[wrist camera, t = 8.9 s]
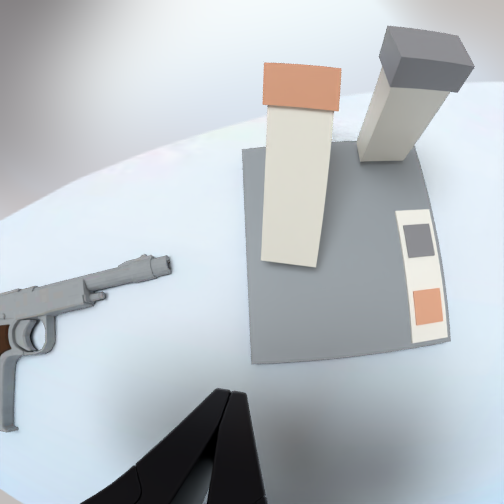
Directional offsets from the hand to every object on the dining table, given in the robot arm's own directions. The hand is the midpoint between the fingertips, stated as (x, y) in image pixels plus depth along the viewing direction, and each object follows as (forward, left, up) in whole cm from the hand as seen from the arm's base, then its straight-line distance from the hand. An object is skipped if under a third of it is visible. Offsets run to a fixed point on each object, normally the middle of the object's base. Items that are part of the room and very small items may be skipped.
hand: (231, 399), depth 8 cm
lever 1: (+6, -2, -9) cm, 11 cm away
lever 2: (+13, -8, -9) cm, 17 cm away
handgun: (0, +16, -11) cm, 20 cm away
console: (+7, -5, -10) cm, 14 cm away
